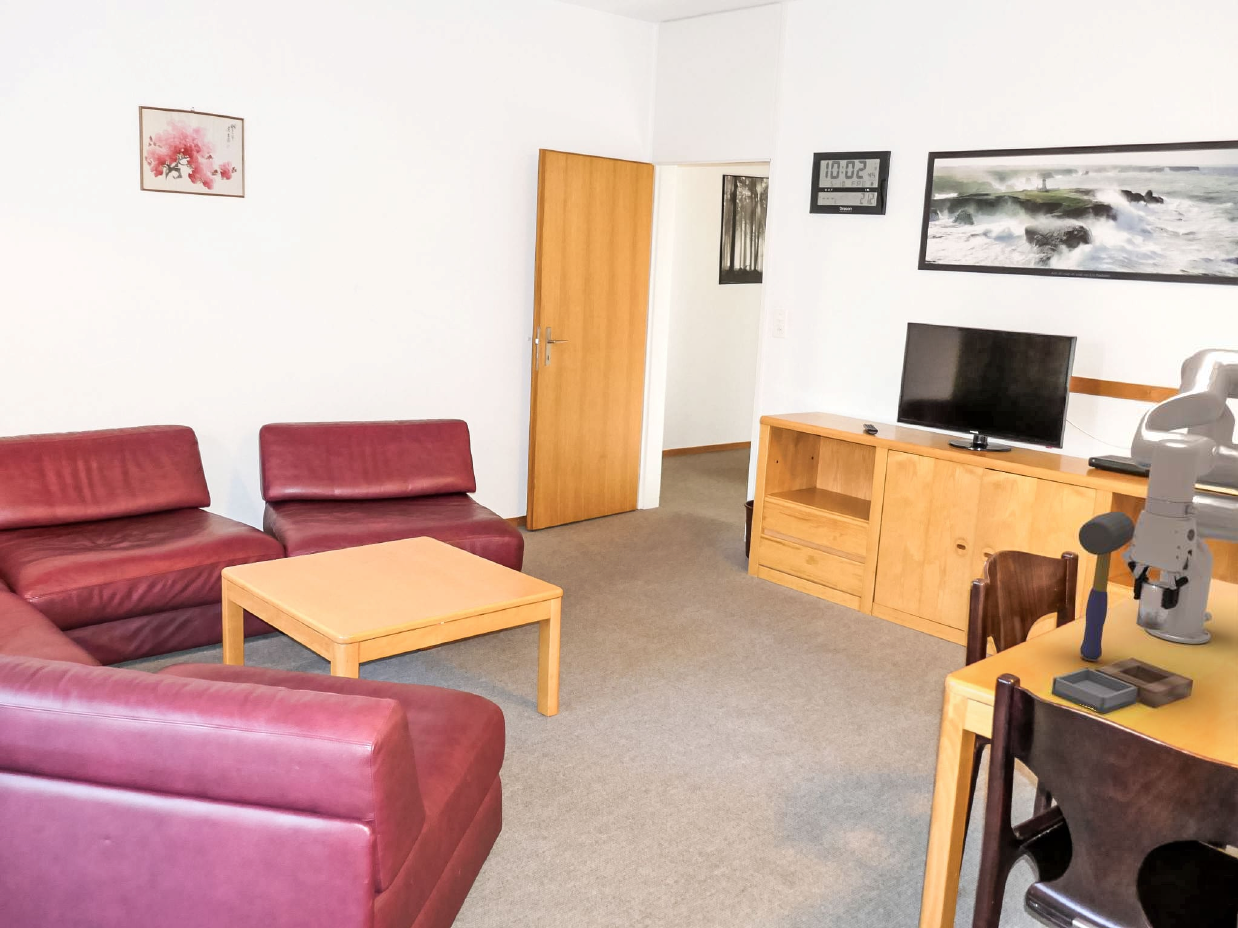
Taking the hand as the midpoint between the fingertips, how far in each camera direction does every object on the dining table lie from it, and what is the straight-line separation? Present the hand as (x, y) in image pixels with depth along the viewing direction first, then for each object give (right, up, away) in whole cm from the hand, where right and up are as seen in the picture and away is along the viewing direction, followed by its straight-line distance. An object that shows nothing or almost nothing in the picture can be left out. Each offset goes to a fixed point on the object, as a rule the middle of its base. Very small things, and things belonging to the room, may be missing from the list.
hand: (1154, 602), depth 196 cm
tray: (-12, -17, -2) cm, 21 cm away
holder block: (-1, -17, +3) cm, 17 cm away
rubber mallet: (-4, -14, +17) cm, 23 cm away
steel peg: (0, -4, +1) cm, 5 cm away
